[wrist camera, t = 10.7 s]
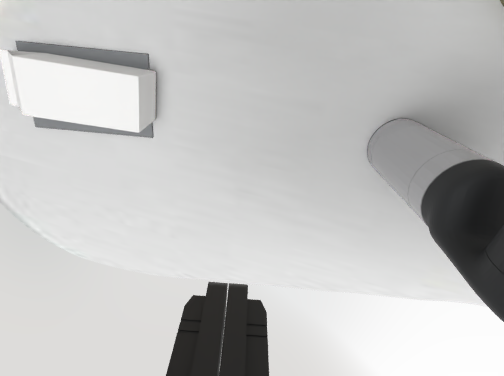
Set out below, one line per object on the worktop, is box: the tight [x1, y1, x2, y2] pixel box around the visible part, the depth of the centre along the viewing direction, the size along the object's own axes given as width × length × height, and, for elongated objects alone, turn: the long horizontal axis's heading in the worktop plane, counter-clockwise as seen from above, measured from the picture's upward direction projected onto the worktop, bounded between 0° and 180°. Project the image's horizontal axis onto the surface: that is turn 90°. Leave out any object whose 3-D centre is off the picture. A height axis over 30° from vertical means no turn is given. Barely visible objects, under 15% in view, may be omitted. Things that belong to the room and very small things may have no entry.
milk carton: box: [0, 49, 156, 133], centre depth 40 cm, size 7×7×19 cm
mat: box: [16, 41, 153, 138], centre depth 44 cm, size 18×12×1 cm, turn 85°
